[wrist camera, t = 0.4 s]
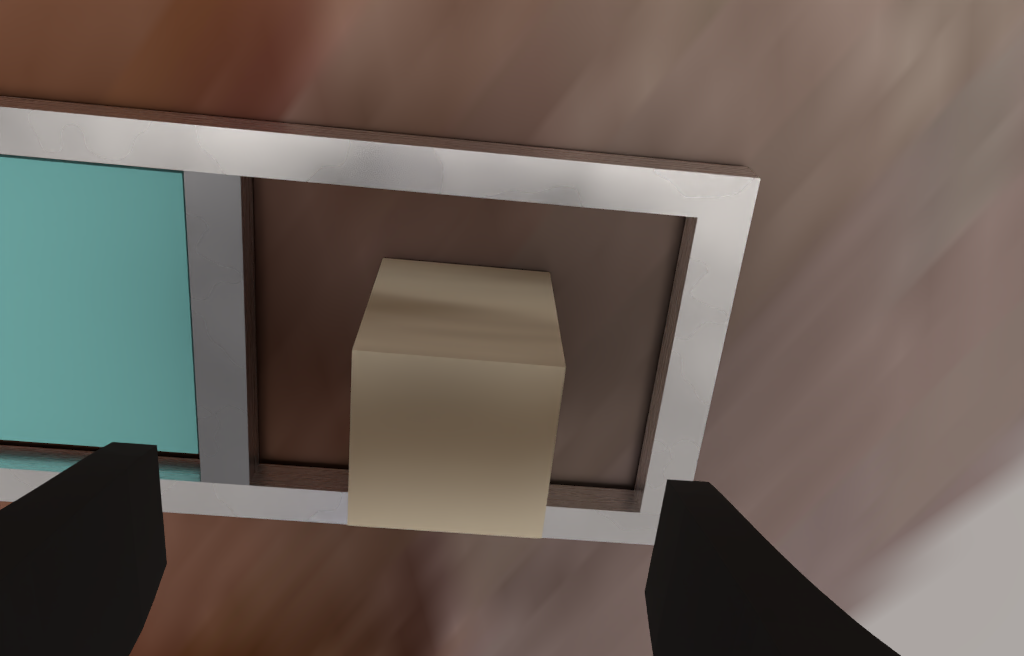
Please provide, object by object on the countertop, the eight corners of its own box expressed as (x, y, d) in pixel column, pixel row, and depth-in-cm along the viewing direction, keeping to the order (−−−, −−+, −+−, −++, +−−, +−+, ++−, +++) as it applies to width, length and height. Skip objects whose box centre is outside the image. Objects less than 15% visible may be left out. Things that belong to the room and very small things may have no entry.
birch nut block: (531, 416, 23) (541, 538, 18) (376, 404, 22) (347, 525, 18) (549, 272, 21) (565, 366, 16) (383, 257, 21) (352, 350, 16)
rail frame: (671, 523, 24) (678, 547, 23) (-226, 461, 23) (-256, 483, 22) (748, 166, 20) (760, 178, 19) (-343, 63, 18) (-386, 70, 18)
